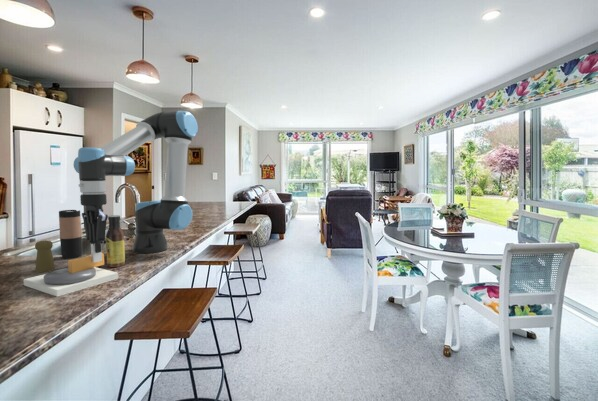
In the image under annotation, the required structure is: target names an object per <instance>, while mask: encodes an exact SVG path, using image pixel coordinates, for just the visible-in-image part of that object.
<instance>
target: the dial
mask: <svg viewBox="0 0 598 401" xmlns="http://www.w3.org/2000/svg"><path fill="white" fill-rule="evenodd" d="M67 264H68V265H67V266H68V267H65V268H60V269H56V270H51V271H49V272H48V273H45V274H46V275H44V274H43V275H44V283H46V284H52V285H60V284H70V283H76V282H80V281H84V280H87V279H90V278H92V277H94V276H95V275H96V269H95V268H93V267H96V268H98V267H100V266H104V265H105V253H103V252H102V261H99V262H94V263H93V262H92V257H91V254H90V255H86V256H81V257H78V258H73V259H67Z"/></svg>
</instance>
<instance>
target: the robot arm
mask: <svg viewBox="0 0 598 401" xmlns="http://www.w3.org/2000/svg"><path fill="white" fill-rule="evenodd" d="M198 130H199V127H198V121H197V119H196V117H195V116H194V115H193V114H192V113H191V112H189V111H188V110H176V111H160V112H155V113H154V114H152V115H150V116H148V117H146V118H145V119H142V120H141V121H139V122H138V123H137V124H136V126H135V127H133V128H132V129H130V130H128V131H127V132H125V133H124V134H122V135H120V136H118V137H117V138H115V139H114V140H112V141H110V142H108V143H107V144H105V145H103V146H101V147H89V146H88V147H80V148H79V149H78V151H77V157H75V159H74V160H73V168H74V171H75V172H76V173H78V176H79V177H78V178H79V184H78V188H79V190H80V191H79V193H81V194H80V195H79V196H80V198H79V201H80V205H81V206H83V207H85V211H84V212H82V213H81V217H82V219H83V225H84V229H85V230H84V231H85V235H86V236H85V237H86V240H87V241H88V242H89V244H90V253H91V254H90V255H91V257H92V262H93V263H94V262H99V261H102V253H103V252H102V242H106V234H107V232H106V230H107V221H108V214H104V208H103V205H104V206H105V205H107V194H106V192H107V180H106V177H107V176H111V177H120V176H121V177H126V176H130V175H132V174H134V172H135V169H136V163H135V161H134V159H133V158H132V157H130V156H128V155H129V154H130V153H133V151H135V150H137V149H138V148H140V147H141V146H142V145H144V144H146V143H147V142H149V143H151V142H153V141H155V140H157V139H164V141H166V143H167V152H166V153H167V154H166V167H165V168H166V169H165V183H164V196H163V197H161V198H160V200H159V199H158V200H150V201H140V202H137V203H136V204H135V206H134V207H135V210H134V217H135V219H134V220H135V233H136V234H135V238H134V240H133V241H134V242H133V244H132V252H133V253H136V254H152V253H159V252H163V251H166V250H168V246H169V245H168V241H167V238H166V237H165V236H166V235H165V233H164V230H172V231H181V230H182V231H183V230H185V229H187V227H188V226H189V225H190V224H191V222H192V220H193V212H194V211H193V209H192V208H191V206H190V205H189V204H188V203H189V200H188V199H187V198H186V197H185V196H186V183H187V182H186V180H187V179H186V178H187V166H188V164H187V163H188V148H189V145H190V144H192V139H193V138H194V137H196V135H197V134H198Z"/></svg>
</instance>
